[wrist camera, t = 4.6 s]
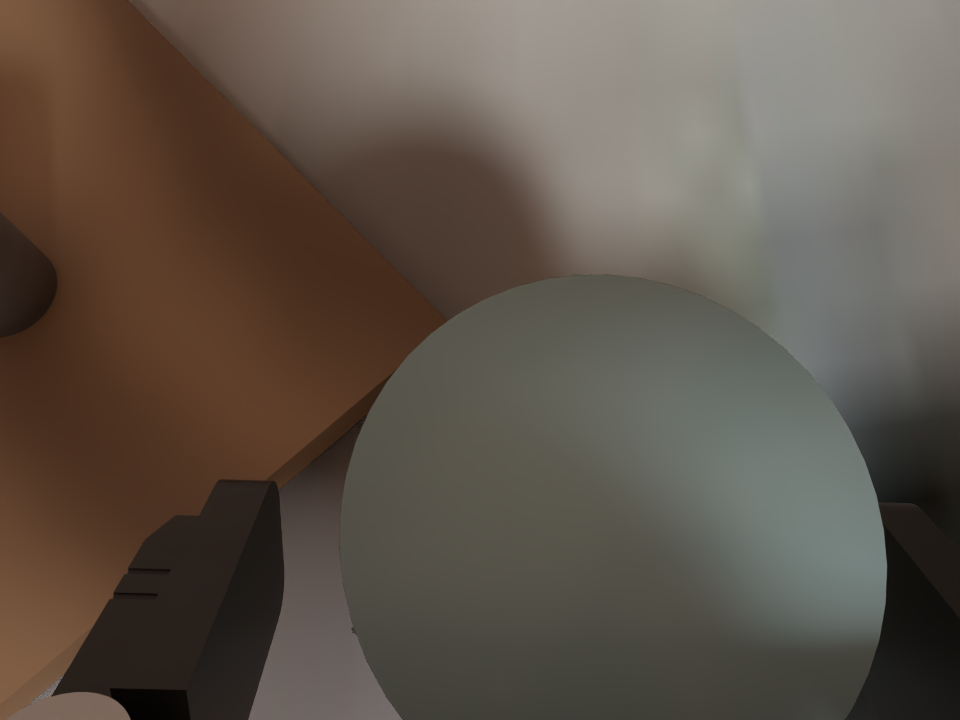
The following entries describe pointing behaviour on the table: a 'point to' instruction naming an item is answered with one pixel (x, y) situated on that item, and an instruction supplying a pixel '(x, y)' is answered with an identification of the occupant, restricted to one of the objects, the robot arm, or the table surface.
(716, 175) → the table surface
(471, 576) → the grey canister
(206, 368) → the post stand
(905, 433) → the table surface
